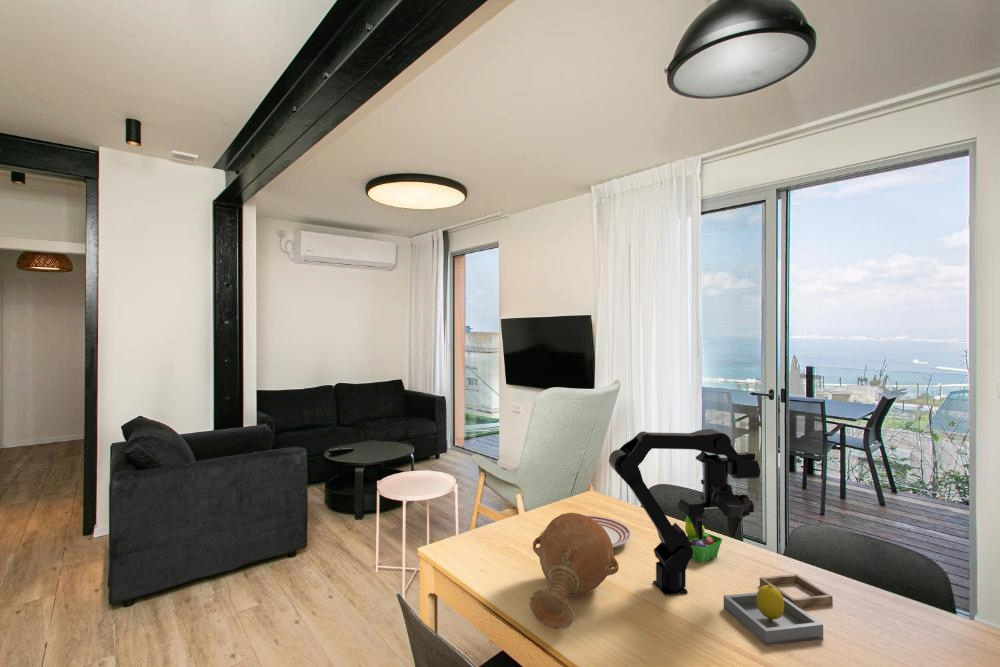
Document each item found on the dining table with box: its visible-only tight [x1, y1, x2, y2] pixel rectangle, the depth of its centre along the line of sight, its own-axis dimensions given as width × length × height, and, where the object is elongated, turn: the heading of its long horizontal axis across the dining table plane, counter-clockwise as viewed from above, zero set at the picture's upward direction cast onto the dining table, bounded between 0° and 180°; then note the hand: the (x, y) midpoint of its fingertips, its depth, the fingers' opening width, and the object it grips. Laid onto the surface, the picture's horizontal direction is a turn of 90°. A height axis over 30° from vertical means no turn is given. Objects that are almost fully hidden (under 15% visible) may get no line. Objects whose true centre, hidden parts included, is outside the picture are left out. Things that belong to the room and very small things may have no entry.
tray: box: [723, 591, 824, 646], centre depth 106 cm, size 14×14×3 cm
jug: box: [528, 512, 620, 630], centre depth 116 cm, size 20×19×30 cm
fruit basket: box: [684, 515, 723, 564], centre depth 140 cm, size 11×9×11 cm
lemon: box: [756, 585, 784, 620], centre depth 106 cm, size 6×6×8 cm
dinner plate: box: [547, 514, 633, 549], centre depth 152 cm, size 27×27×3 cm
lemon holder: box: [759, 573, 834, 609], centre depth 118 cm, size 11×11×2 cm
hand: (716, 538), depth 121 cm, fingers open, 9 cm apart
